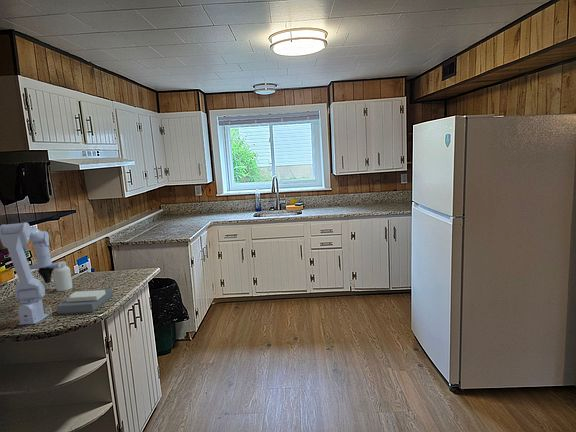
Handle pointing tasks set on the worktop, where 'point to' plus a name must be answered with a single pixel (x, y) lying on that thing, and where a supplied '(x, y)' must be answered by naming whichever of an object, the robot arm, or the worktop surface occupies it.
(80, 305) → the gray storage bin
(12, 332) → the worktop surface
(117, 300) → the worktop surface
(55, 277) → the pill bottle
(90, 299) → the cover
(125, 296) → the worktop surface
